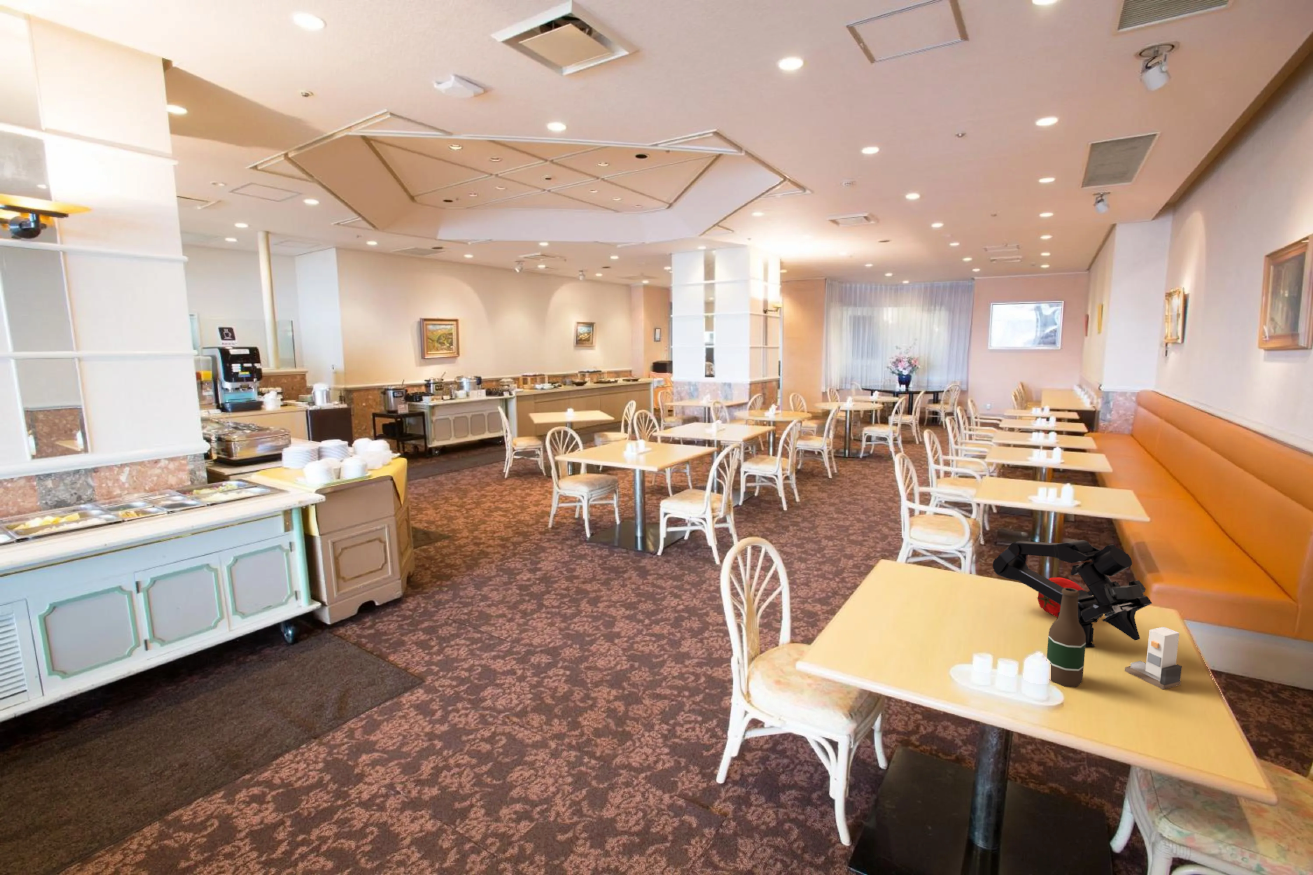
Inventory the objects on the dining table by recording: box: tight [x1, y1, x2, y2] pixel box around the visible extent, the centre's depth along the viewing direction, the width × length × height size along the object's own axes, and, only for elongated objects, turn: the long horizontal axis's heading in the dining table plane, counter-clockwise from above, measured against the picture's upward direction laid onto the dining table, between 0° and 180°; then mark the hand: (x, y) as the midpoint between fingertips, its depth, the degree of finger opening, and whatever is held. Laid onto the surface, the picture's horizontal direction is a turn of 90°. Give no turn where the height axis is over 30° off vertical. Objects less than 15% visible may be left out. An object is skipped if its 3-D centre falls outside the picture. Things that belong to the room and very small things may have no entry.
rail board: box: [1124, 660, 1182, 690], centre depth 153 cm, size 9×6×5 cm, turn 17°
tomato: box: [1037, 576, 1086, 618], centre depth 189 cm, size 13×13×13 cm
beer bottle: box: [1046, 588, 1086, 688], centre depth 152 cm, size 8×8×24 cm
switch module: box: [1145, 626, 1180, 678], centre depth 150 cm, size 4×6×11 cm, turn 107°
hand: (1137, 639), depth 156 cm, fingers closed
